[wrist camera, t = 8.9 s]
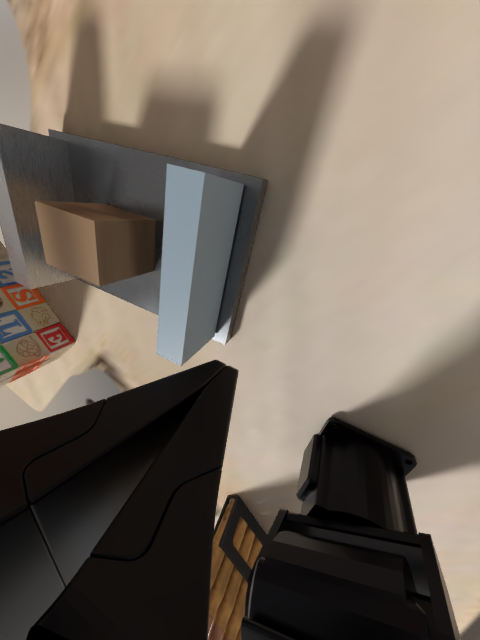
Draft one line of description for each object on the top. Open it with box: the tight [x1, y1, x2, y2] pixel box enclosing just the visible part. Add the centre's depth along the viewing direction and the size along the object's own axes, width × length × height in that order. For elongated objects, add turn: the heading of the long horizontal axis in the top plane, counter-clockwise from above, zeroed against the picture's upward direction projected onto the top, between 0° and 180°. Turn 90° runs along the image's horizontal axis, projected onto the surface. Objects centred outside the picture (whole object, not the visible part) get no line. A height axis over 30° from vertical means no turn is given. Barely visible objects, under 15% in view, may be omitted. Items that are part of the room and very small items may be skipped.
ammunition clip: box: [208, 496, 267, 640], centre depth 25 cm, size 11×2×12 cm, turn 38°
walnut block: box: [34, 200, 156, 287], centre depth 17 cm, size 5×4×5 cm
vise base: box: [0, 124, 268, 345], centre depth 17 cm, size 18×12×6 cm, turn 79°
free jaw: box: [157, 164, 244, 366], centre depth 15 cm, size 2×11×4 cm, turn 169°
